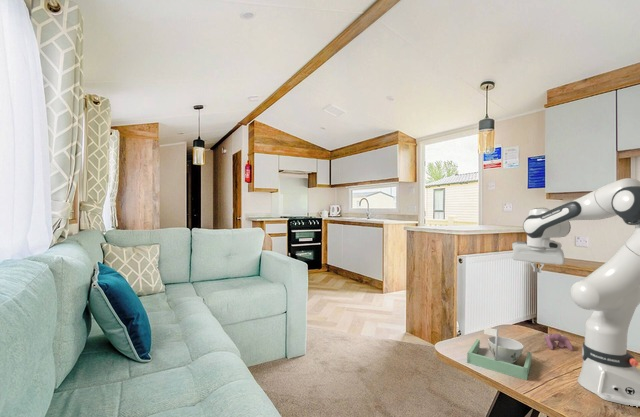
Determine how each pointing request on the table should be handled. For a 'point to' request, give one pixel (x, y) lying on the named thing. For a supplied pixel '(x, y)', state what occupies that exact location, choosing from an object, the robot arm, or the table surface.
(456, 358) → the table surface
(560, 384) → the table surface
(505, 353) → the teacup
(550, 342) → the video game controller
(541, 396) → the table surface
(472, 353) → the corral
